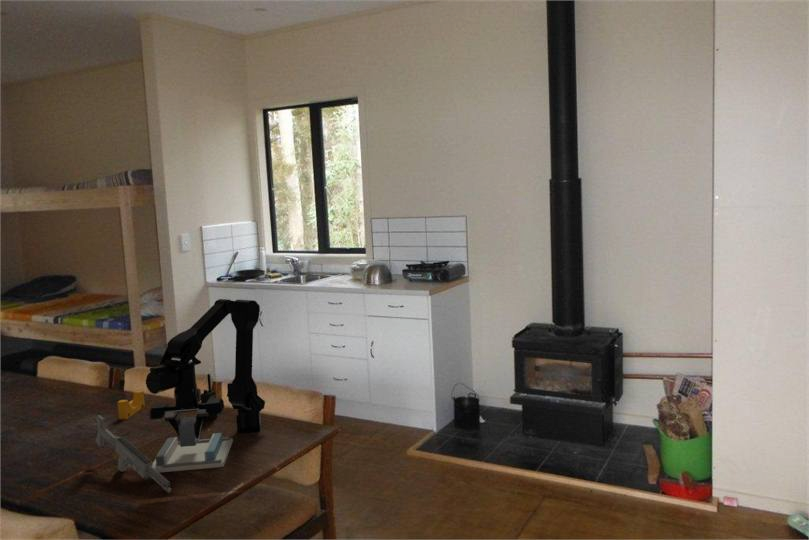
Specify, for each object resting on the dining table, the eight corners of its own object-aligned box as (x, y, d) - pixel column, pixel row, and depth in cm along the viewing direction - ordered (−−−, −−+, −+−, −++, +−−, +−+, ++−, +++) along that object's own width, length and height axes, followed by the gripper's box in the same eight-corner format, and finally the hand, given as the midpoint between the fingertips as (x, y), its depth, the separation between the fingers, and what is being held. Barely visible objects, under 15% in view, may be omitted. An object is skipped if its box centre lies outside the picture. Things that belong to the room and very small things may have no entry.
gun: (176, 510, 161) (178, 475, 159) (163, 515, 159) (165, 480, 156) (104, 444, 183) (105, 412, 180) (92, 449, 180) (93, 416, 177)
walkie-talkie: (210, 423, 207) (206, 377, 206) (201, 422, 208) (197, 376, 207) (218, 418, 212) (215, 373, 210) (210, 417, 213) (206, 372, 211)
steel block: (199, 437, 183) (197, 416, 183) (195, 445, 177) (193, 424, 177) (185, 438, 183) (183, 418, 182) (180, 447, 177) (178, 425, 176)
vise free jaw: (222, 441, 188) (222, 432, 188) (214, 460, 174) (213, 451, 174) (213, 442, 188) (213, 433, 188) (205, 461, 174) (204, 452, 174)
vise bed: (232, 441, 191) (231, 430, 190) (223, 466, 173) (222, 454, 172) (165, 447, 188) (164, 435, 188) (148, 473, 171) (147, 460, 170)
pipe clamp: (133, 408, 226) (131, 390, 226) (145, 408, 226) (143, 390, 225) (114, 420, 214) (112, 401, 214) (126, 420, 214) (124, 401, 213)
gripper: (224, 372, 187) (228, 425, 189) (157, 378, 185) (162, 431, 187) (218, 383, 176) (223, 439, 178) (146, 389, 174) (151, 445, 176)
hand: (190, 438), depth 180 cm, fingers closed on steel block, 4 cm apart
